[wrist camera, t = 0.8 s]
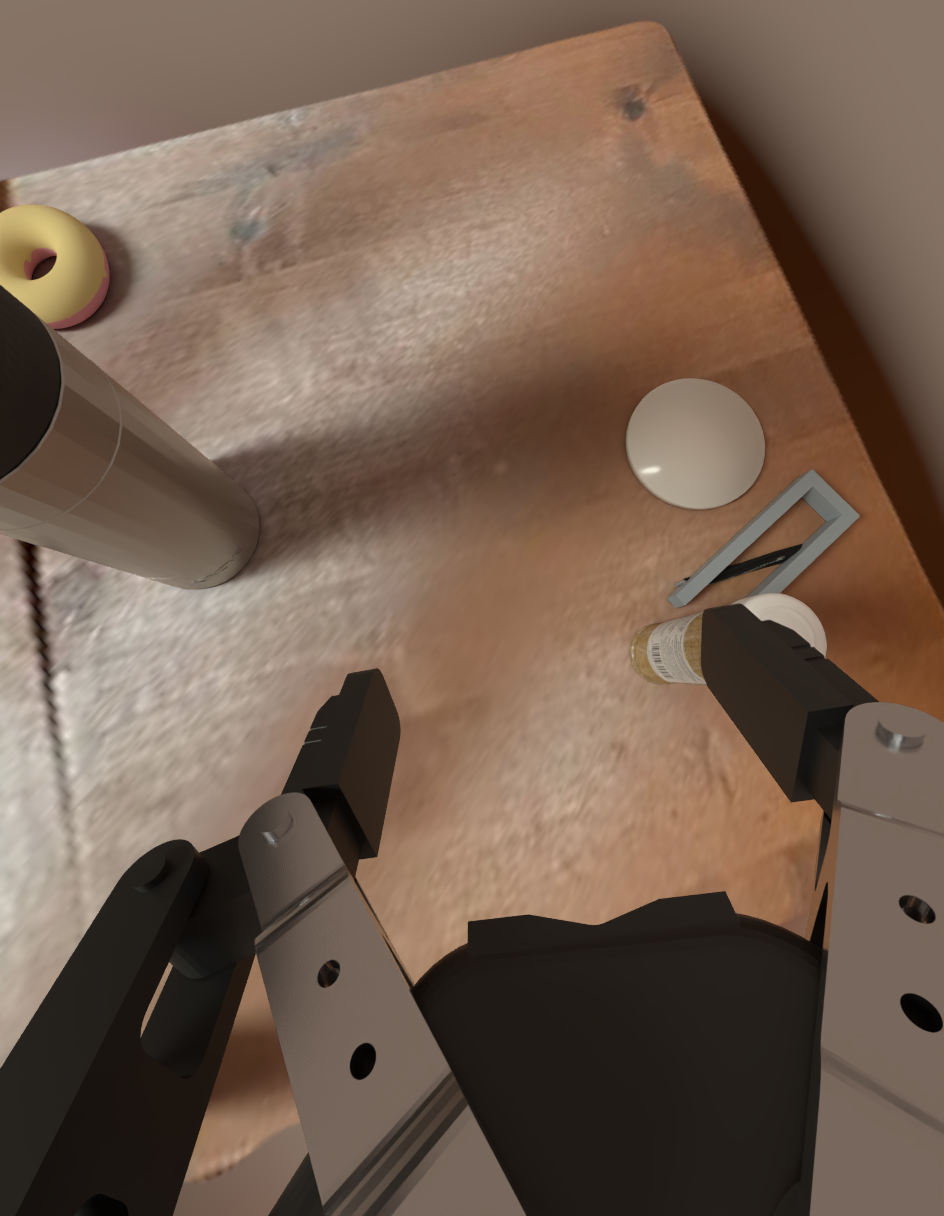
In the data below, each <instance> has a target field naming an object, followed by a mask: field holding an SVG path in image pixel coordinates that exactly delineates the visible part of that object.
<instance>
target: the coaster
mask: <svg viewBox="0 0 944 1216" xmlns="http://www.w3.org/2000/svg"><path fill="white" fill-rule="evenodd" d="M625 447H626V454H627V458H628V461H629V464H630V467H631V469H632V471H633V473H634V474H635V476H636V477H637V479H638V480H639V482H640V483H641V484H642V485H643V486H644V488H646V489H647V490H648V491H649V492H650V493H651V494H652V495H654V496H655V497H657V498H658V499H660V500H661V501H663V502H665V503H667V504H669V505H672V506H675V507H678V508H682V509H687V510H710V509H714V508H718V507H721V506H724V505H726V504H728V503H730V502H732V501H733V500H735V499H737V498H738V497H740V496H741V495H742V494H744V493H745V492H746V491H747V490H748V489H749V488H750V487H751V486H752V485H753V483H754V482H755V480H756V479H757V477H758V475H759V473H760V471H761V469H762V466H763V462H764V457H765V440H764V435H763V431H762V428H761V425H760V422H759V420H758V418H757V417H756V415H755V413H754V412H753V410H752V409H751V407H750V406H749V405H748V404H747V403H746V402H745V401H744V400H743V399H742V398H741V397H740V396H739V395H738V394H736V393H735V392H733V391H732V390H730V389H729V388H727V387H725V386H723V385H721V384H718V383H715V382H712V381H708V380H704V379H697V378H686V379H678V380H674V381H670V382H667V383H665V384H662V385H660V386H658V387H657V388H655V389H653V390H652V391H651V392H649V393H648V394H647V395H646V396H645V397H644V398H643V399H642V400H641V402H640V403H639V404H638V405H637V407H636V408H635V410H634V412H633V414H632V415H631V417H630V420H629V422H628V425H627V430H626V437H625Z"/></svg>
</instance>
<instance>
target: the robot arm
mask: <svg viewBox="0 0 944 1216" xmlns="http://www.w3.org/2000/svg"><path fill="white" fill-rule="evenodd" d="M259 532H260V527H259V516H258V513H257V509H256V506H255V504H254V502H253V501H252V499H251V497H250V496H249V495H248V493H247V492H246V491H245V490H244V489H243V488H242V487H241V486H240V485H239V484H237V483H236V482H235V481H234V480H233V479H231V478H230V477H229V476H228V475H227V474H225V473H224V472H223V471H222V470H221V469H219V468H218V467H217V466H216V465H215V464H214V463H213V462H211V461H210V460H209V459H208V458H207V457H205V456H204V455H203V454H202V453H201V452H199V451H198V450H197V449H196V448H195V447H194V446H192V445H191V444H190V443H189V442H188V441H186V440H185V439H184V438H183V437H182V436H180V435H179V434H178V433H177V432H176V431H174V430H173V429H172V428H171V427H170V426H169V425H167V424H166V423H165V422H164V421H163V420H161V419H160V418H159V417H158V416H157V415H155V414H154V413H153V412H152V411H151V410H149V409H148V408H147V407H146V406H145V405H143V404H142V403H141V402H140V401H139V400H138V399H136V398H135V397H134V396H133V395H132V394H130V393H129V392H128V391H127V390H126V389H124V388H123V387H122V386H121V385H120V384H118V383H117V382H116V381H115V380H114V379H113V378H111V377H110V376H109V375H108V374H107V373H105V372H104V371H103V370H102V369H101V368H99V367H98V366H97V365H96V364H95V363H93V362H92V361H91V360H90V359H88V358H87V357H86V356H85V355H83V354H82V353H81V352H80V351H79V350H77V349H76V348H75V347H74V346H73V345H72V344H70V343H69V342H68V341H67V340H66V339H64V338H63V337H62V336H61V335H60V334H58V333H57V332H56V331H55V330H54V329H52V328H51V327H50V326H49V325H48V324H46V323H45V322H44V321H43V320H42V319H41V318H39V317H38V316H37V315H36V314H35V313H33V312H32V311H31V310H30V309H29V308H28V307H27V306H25V305H24V304H23V303H22V302H20V301H19V300H18V299H17V298H16V297H14V296H13V295H12V294H11V293H10V292H8V291H7V290H6V289H5V288H4V287H2V286H1V285H0V534H2V535H6V536H9V537H12V538H16V539H19V540H22V541H26V542H29V543H32V544H35V545H39V546H42V547H45V548H49V549H52V550H55V551H59V552H62V553H65V554H69V555H72V556H75V557H79V558H82V559H85V560H89V561H92V562H95V563H98V564H102V565H105V566H108V567H112V568H115V569H118V570H122V571H125V572H128V573H132V574H135V575H138V576H141V577H144V578H148V579H151V580H154V581H158V582H161V583H164V584H168V585H171V586H175V587H179V588H183V589H204V588H209V587H213V586H216V585H218V584H221V583H223V582H225V581H227V580H228V579H230V578H232V577H233V576H235V575H236V574H237V573H238V572H239V571H240V570H241V569H242V568H243V567H244V566H245V565H246V564H247V562H248V561H249V559H250V558H251V556H252V555H253V552H254V550H255V548H256V545H257V543H258V537H259ZM701 670H702V674H703V677H704V680H705V682H706V684H707V686H708V688H709V689H710V691H711V692H712V693H713V695H714V696H715V697H716V699H717V700H718V702H719V703H720V704H721V706H722V707H723V709H724V710H725V711H726V713H727V714H728V715H729V717H730V718H731V720H732V721H733V722H734V724H735V725H736V727H737V728H738V729H739V731H740V732H741V734H742V735H743V736H744V738H745V739H746V740H747V742H748V743H749V745H750V746H751V747H752V749H753V750H754V752H755V753H756V754H757V756H758V757H759V758H760V760H761V761H762V763H763V764H764V765H765V767H766V768H767V770H768V771H769V772H770V774H771V775H772V777H773V778H774V779H775V781H776V782H777V783H778V785H779V786H780V788H781V789H782V790H783V792H784V793H785V795H786V796H787V797H788V799H789V800H790V801H791V802H798V801H805V800H812V799H815V800H816V801H817V803H818V804H819V805H820V806H821V808H822V809H823V813H822V817H821V822H820V830H819V838H818V846H817V854H816V862H815V870H814V879H813V887H812V895H811V902H810V909H809V916H808V921H807V926H806V931H805V937H804V938H803V937H801V936H799V935H797V934H795V933H793V932H791V931H789V930H787V929H785V928H783V927H780V926H778V925H775V924H773V923H770V922H768V921H765V920H762V919H758V918H755V917H751V916H747V915H743V914H737V913H735V911H734V909H733V907H732V905H731V902H730V900H729V898H728V896H727V894H726V892H725V891H723V892H715V893H706V894H698V895H689V896H681V897H672V898H664V899H658V900H656V901H654V902H651V903H649V904H647V905H644V906H642V907H640V908H637V909H635V910H633V911H631V912H628V913H626V914H624V915H621V916H619V917H617V918H615V919H612V920H610V921H608V922H605V923H603V924H600V925H587V924H581V923H575V922H569V921H564V920H558V919H552V918H546V917H540V916H534V915H520V916H512V917H503V918H495V919H486V920H478V921H469V922H468V943H467V944H465V945H462V946H460V947H458V948H457V949H455V950H454V951H452V952H450V953H449V954H447V955H445V956H444V957H443V958H442V959H440V960H439V961H438V962H437V963H435V964H434V965H433V966H432V967H431V968H430V969H429V970H428V971H427V972H426V973H425V974H424V975H423V976H422V977H421V978H420V979H419V980H418V982H417V983H416V984H414V982H413V980H412V978H411V977H410V975H409V973H408V971H407V970H406V968H405V966H404V964H403V963H402V961H401V959H400V957H399V955H398V954H397V952H396V950H395V948H394V946H393V944H392V943H391V941H390V939H389V937H388V935H387V933H386V932H385V930H384V928H383V926H382V924H381V922H380V920H379V919H378V917H377V915H376V913H375V911H374V909H373V908H372V906H371V904H370V902H369V900H368V898H367V897H366V895H365V893H364V891H363V889H362V887H361V885H360V884H359V882H358V880H357V878H356V877H355V875H356V871H357V866H358V862H359V859H366V858H374V857H377V856H378V850H379V845H380V840H381V835H382V829H383V824H384V819H385V814H386V808H387V803H388V798H389V793H390V787H391V782H392V777H393V772H394V766H395V761H396V756H397V751H398V745H399V740H400V721H399V716H398V713H397V710H396V708H395V705H394V702H393V700H392V697H391V695H390V692H389V690H388V687H387V685H386V682H385V680H384V677H383V675H382V673H381V671H380V670H379V669H377V668H376V669H371V670H365V671H360V672H354V673H349V674H348V675H347V677H346V679H345V681H344V684H343V687H342V689H341V692H340V694H339V695H336V696H331V697H330V698H329V700H328V701H327V702H326V703H325V704H324V705H323V706H322V707H321V708H320V710H319V711H318V712H317V714H316V716H315V719H314V721H313V723H312V725H311V728H310V729H311V731H309V732H308V734H307V737H306V739H305V741H304V742H305V745H303V746H302V748H301V750H300V753H299V755H298V757H297V760H296V762H295V764H294V766H293V769H292V771H291V773H290V775H289V778H288V780H287V782H286V785H285V787H284V789H283V791H282V794H281V795H280V796H277V797H275V798H273V799H271V800H269V801H268V802H266V803H265V804H263V805H262V806H261V807H260V808H258V809H257V810H256V811H255V812H254V813H253V814H252V815H251V816H250V818H249V819H248V820H247V821H246V823H245V825H244V826H243V828H242V830H241V833H240V835H239V836H237V837H235V838H232V839H230V840H228V841H225V842H223V843H221V844H219V845H216V846H214V847H212V848H209V849H207V850H205V851H202V852H200V853H199V852H198V851H197V850H196V849H195V847H194V846H193V845H192V844H191V843H190V842H189V841H186V840H180V839H179V840H172V841H169V842H166V843H163V844H161V845H159V846H157V847H155V848H153V849H152V850H150V851H149V852H147V853H146V854H144V855H143V856H142V857H140V858H139V859H138V860H137V861H136V862H135V863H134V864H133V865H132V866H131V867H130V868H129V869H128V870H127V871H126V872H125V873H124V874H123V876H122V877H121V878H120V880H119V881H118V883H117V884H116V886H115V887H114V889H113V891H112V892H111V894H110V895H109V897H108V898H107V900H106V902H105V903H104V905H103V906H102V908H101V910H100V911H99V913H98V914H97V916H96V918H95V919H94V921H93V922H92V924H91V925H90V927H89V929H88V930H87V932H86V933H85V935H84V937H83V938H82V940H81V941H80V943H79V945H78V946H77V948H76V949H75V951H74V952H73V954H72V956H71V957H70V959H69V960H68V962H67V964H66V965H65V967H64V968H63V970H62V972H61V973H60V975H59V976H58V978H57V979H56V981H55V983H54V984H53V986H52V987H51V989H50V991H49V992H48V994H47V995H46V997H45V999H44V1000H43V1002H42V1003H41V1005H40V1007H39V1008H38V1010H37V1011H36V1013H35V1014H34V1016H33V1018H32V1019H31V1021H30V1022H29V1024H28V1026H27V1027H26V1029H25V1030H24V1032H23V1034H22V1035H21V1037H20V1038H19V1040H18V1041H17V1043H16V1045H15V1046H14V1048H13V1049H12V1051H11V1053H10V1054H9V1056H8V1057H7V1059H6V1061H5V1062H4V1064H3V1065H2V1067H1V1068H0V1216H173V1213H174V1210H175V1206H176V1203H177V1200H178V1197H179V1194H180V1191H181V1188H182V1184H183V1181H184V1178H185V1175H186V1172H187V1169H188V1166H189V1162H190V1159H191V1156H192V1153H193V1150H194V1147H195V1144H196V1140H197V1137H198V1134H199V1131H200V1128H201V1125H202V1121H203V1118H204V1115H205V1112H206V1109H207V1106H208V1103H209V1099H210V1096H211V1093H212V1090H213V1087H214V1084H215V1080H216V1077H217V1074H218V1071H219V1068H220V1065H221V1062H222V1058H223V1055H224V1052H225V1049H226V1046H227V1043H228V1040H229V1036H230V1033H231V1030H232V1027H233V1024H234V1021H235V1017H236V1014H237V1011H238V1008H239V1005H240V1002H241V999H242V995H243V992H244V989H245V986H246V983H247V980H248V976H249V973H250V970H251V967H252V964H253V961H254V958H255V954H257V958H258V962H259V966H260V969H261V973H262V977H263V981H264V985H265V988H266V992H267V996H268V1000H269V1004H270V1008H271V1011H272V1015H273V1019H274V1023H275V1027H276V1030H277V1034H278V1038H279V1042H280V1046H281V1049H282V1053H283V1057H284V1061H285V1065H286V1068H287V1072H288V1076H289V1080H290V1084H291V1087H292V1091H293V1095H294V1099H295V1103H296V1106H297V1110H298V1114H299V1118H300V1122H301V1125H302V1129H303V1133H304V1137H305V1141H306V1144H307V1148H308V1154H307V1155H306V1157H305V1158H304V1160H303V1161H302V1163H301V1165H300V1166H299V1168H298V1170H297V1171H296V1172H295V1174H294V1176H293V1177H292V1179H291V1181H290V1182H289V1184H288V1185H287V1187H286V1188H285V1190H284V1192H283V1193H282V1195H281V1196H280V1198H279V1199H278V1201H277V1203H276V1205H275V1206H274V1208H273V1209H272V1211H271V1212H270V1214H269V1215H268V1216H944V723H943V722H942V721H940V720H938V719H937V718H935V717H933V716H931V715H929V714H927V713H925V712H922V711H920V710H917V709H914V708H911V707H908V706H904V705H900V704H894V703H884V702H879V701H878V700H876V699H875V698H874V697H873V696H872V695H870V694H869V693H868V692H867V691H866V690H865V689H863V688H862V687H861V686H860V685H859V684H857V683H856V682H855V681H854V680H853V679H851V678H850V677H849V676H848V675H847V674H845V673H844V672H843V671H842V670H841V669H840V668H838V667H837V666H836V665H835V664H834V663H832V662H831V661H830V660H829V659H825V657H824V655H823V654H822V653H820V652H819V651H818V650H817V649H816V648H815V647H811V646H810V643H809V642H807V641H806V640H805V639H804V638H803V637H801V636H800V635H799V634H798V633H797V632H795V631H794V630H793V629H790V628H788V627H786V626H783V625H781V624H779V623H776V622H774V621H772V620H764V621H761V620H760V619H759V618H758V617H756V616H755V615H754V614H753V613H752V612H751V611H750V610H749V609H748V608H746V607H745V606H744V605H743V604H741V603H737V604H732V605H726V606H721V607H715V608H710V609H706V610H704V612H703V615H702V633H701ZM169 962H170V963H171V964H172V965H173V967H172V970H171V972H170V974H169V976H168V978H167V981H166V983H165V985H164V987H163V990H162V992H161V994H160V996H159V998H158V1001H157V1003H156V1005H155V1007H154V1010H153V1012H152V1014H151V1016H150V1019H149V1021H148V1023H147V1025H146V1027H145V1030H144V1032H143V1034H142V1036H141V1027H142V1022H143V1019H144V1016H145V1013H146V1011H147V1009H148V1006H149V1004H150V1002H151V1000H152V998H153V996H154V993H155V991H156V989H157V987H158V985H159V982H160V980H161V978H162V976H163V974H164V972H165V969H166V967H167V965H168V963H169ZM140 1036H141V1039H140Z"/></svg>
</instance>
